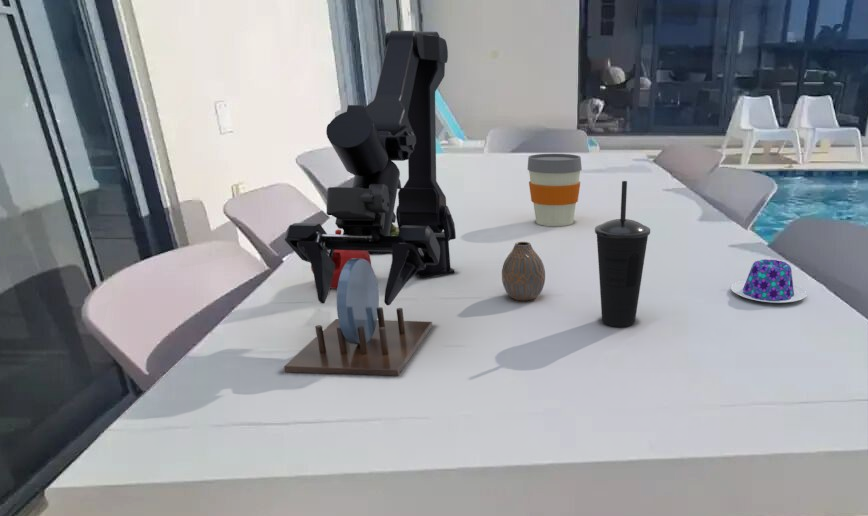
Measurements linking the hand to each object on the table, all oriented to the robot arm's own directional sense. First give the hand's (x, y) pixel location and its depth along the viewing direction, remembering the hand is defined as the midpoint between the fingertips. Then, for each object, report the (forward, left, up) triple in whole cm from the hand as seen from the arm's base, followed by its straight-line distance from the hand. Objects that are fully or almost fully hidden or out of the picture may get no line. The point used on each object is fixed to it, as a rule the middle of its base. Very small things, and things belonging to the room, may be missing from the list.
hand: (354, 303), depth 80 cm
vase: (-29, -7, -7) cm, 30 cm away
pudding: (-63, +14, -7) cm, 65 cm away
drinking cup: (-35, +10, -7) cm, 37 cm away
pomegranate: (-7, -30, -7) cm, 32 cm away
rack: (-1, -1, -7) cm, 7 cm away
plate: (-1, -1, -6) cm, 6 cm away
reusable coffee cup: (-63, -50, -7) cm, 81 cm away
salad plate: (-21, -52, -7) cm, 57 cm away
